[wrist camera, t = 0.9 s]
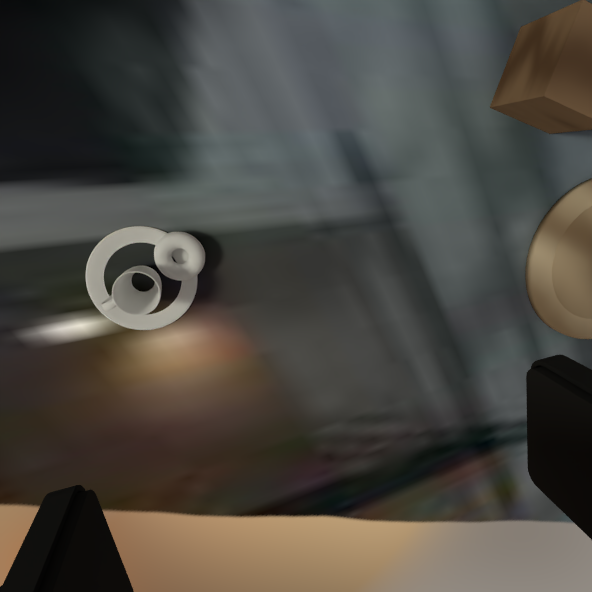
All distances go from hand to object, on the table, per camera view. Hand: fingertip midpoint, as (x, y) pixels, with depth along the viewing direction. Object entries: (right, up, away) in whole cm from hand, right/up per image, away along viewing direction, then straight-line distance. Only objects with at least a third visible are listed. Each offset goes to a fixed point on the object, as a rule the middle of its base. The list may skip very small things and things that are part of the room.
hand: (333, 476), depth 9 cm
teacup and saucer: (-10, +4, +26) cm, 28 cm away
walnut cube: (+18, +21, +26) cm, 38 cm away
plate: (+27, +7, +32) cm, 42 cm away
